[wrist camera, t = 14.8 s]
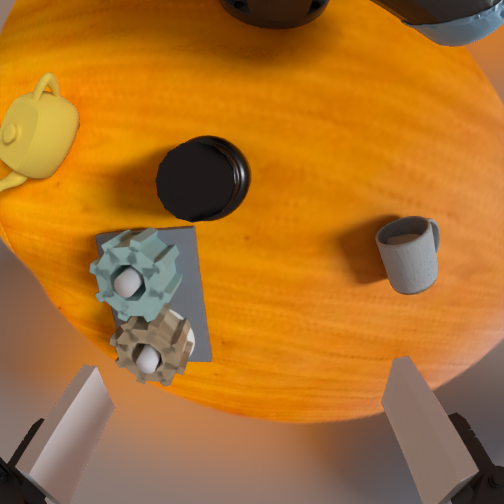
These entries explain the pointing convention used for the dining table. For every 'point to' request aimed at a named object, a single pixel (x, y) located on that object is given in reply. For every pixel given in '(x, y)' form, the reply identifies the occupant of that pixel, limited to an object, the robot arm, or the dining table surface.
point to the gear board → (185, 289)
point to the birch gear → (154, 345)
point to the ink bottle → (203, 179)
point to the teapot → (37, 133)
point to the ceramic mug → (410, 253)
